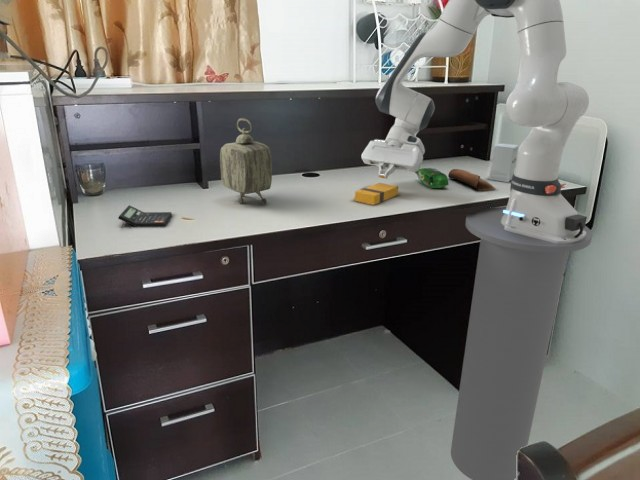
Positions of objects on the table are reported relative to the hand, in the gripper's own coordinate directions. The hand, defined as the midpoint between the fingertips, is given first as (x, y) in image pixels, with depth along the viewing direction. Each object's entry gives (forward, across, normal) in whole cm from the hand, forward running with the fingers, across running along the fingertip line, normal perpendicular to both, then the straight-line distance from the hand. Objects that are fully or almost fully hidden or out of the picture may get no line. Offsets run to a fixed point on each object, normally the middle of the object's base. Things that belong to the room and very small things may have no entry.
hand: (382, 177), depth 161 cm
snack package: (-13, +6, +22) cm, 26 cm away
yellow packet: (0, 0, +7) cm, 7 cm away
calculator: (+49, -37, -39) cm, 73 cm away
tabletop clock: (+27, -29, -18) cm, 44 cm away
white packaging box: (-30, +23, +40) cm, 55 cm away
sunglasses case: (-20, +17, +29) cm, 39 cm away
